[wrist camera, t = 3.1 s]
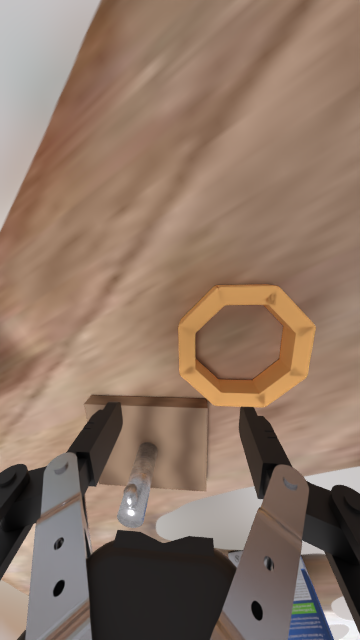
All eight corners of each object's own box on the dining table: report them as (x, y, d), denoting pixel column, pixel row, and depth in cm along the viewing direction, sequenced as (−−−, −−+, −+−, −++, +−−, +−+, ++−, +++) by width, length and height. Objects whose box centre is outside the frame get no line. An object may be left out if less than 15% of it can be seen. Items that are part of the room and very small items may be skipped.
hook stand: (206, 398, 27) (213, 469, 17) (205, 477, 31) (210, 570, 21) (91, 395, 28) (38, 458, 19) (104, 471, 32) (67, 555, 23)
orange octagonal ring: (306, 283, 22) (323, 285, 19) (289, 393, 26) (301, 408, 23) (179, 285, 23) (177, 287, 20) (181, 390, 27) (180, 404, 24)
